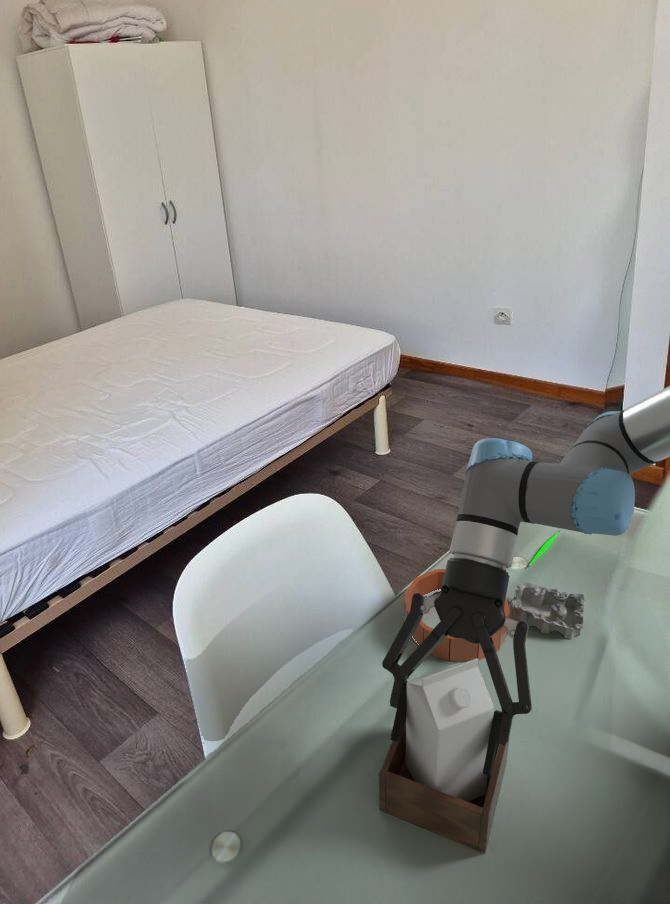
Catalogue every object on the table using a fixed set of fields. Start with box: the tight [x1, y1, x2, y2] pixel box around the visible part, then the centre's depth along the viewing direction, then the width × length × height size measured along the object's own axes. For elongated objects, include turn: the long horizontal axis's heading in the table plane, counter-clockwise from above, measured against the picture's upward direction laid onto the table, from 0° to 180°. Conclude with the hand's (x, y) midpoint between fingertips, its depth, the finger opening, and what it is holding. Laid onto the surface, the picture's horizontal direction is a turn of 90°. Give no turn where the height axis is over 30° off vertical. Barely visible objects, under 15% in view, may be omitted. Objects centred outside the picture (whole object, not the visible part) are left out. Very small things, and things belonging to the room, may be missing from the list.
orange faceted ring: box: [404, 568, 511, 662], centre depth 108 cm, size 16×16×4 cm
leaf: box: [526, 530, 561, 569], centre depth 124 cm, size 1×14×1 cm, turn 138°
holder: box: [378, 721, 510, 854], centre depth 83 cm, size 13×13×7 cm
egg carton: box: [510, 582, 585, 640], centre depth 108 cm, size 11×8×4 cm
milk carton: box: [406, 659, 495, 802], centre depth 80 cm, size 7×7×19 cm
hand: (440, 755), depth 79 cm, fingers closed on milk carton, 10 cm apart
